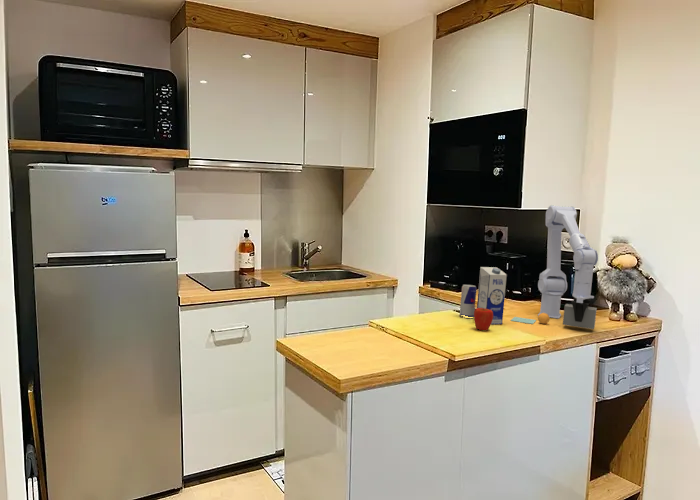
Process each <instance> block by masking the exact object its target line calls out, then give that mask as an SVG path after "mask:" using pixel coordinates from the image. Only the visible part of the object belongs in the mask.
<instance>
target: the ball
mask: <svg viewBox="0 0 700 500" xmlns="http://www.w3.org/2000/svg"><path fill="white" fill-rule="evenodd" d="M538 314H539V313H538ZM537 316H538V315H537ZM537 321H538V322H539V323H540V324H542V325H543V324H545V325H546V324H548V323H549V321H550V317H549V316H548V315H547V314H546V313H541V314H539V316H538V317H537Z"/></svg>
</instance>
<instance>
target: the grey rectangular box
mask: <svg viewBox="0 0 700 500" xmlns="http://www.w3.org/2000/svg"><path fill="white" fill-rule="evenodd" d="M597 309H598V308H597V307H594V306H593V307H592V306H587V308H586V310H585V312H584V316H583V319H582V322H577V321H575V317H574V309H573V305H572V303H565V304H564V309H563V318H562V319H563V320H562V325H563V326H571V327H575V328H583V329H589V330H590V329H591V330H594V329H595V326H596V318H597Z"/></svg>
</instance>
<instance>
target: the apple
mask: <svg viewBox="0 0 700 500" xmlns="http://www.w3.org/2000/svg"><path fill="white" fill-rule="evenodd" d="M492 320H493V311H492V310H489V309H484V308H477V307H476V308H475V311H474V318H473V321H474V326H475V329H476V330H477V329H479V330H478V331H481V330H486V331H489V329H490V327H491V325H492V324H491V323H492Z"/></svg>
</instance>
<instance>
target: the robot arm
mask: <svg viewBox="0 0 700 500" xmlns="http://www.w3.org/2000/svg"><path fill="white" fill-rule="evenodd" d="M576 209H577V208H576V207H574V206H566V205H565V206H563V205H562V206H561V205H552V204H551V205H549V206H548V207H547V209H546V211H545V226H546V228H547V254H546V257H547V258H546V269H545V270H543V271H542V272H540V273H539V277H538V279H539V280H538V281H537V288H538V290H539V292H540V293H541V301H540V311H539V313H538V314H537V316H539V314H541V313H546V314H547V315H548V316H549V318H554V319H560V318H561V316H562V315H561V314H562V313H561V312H560V311H561V309H560V308H561V302H562V301H561V300H562V296H564V294H565V293H566V291H567V290H568V282H567V275H566V274H565V272H564V271H562V270H561V265H562V264H561V259H562V232H563V229H565V230H566V232H567V233H568V235H569V239H568V242H569V245H570V247H571V249H572V251H573V257H572V258H573V263H574V264H573V266H574V267H573V268H574V269H575V272H574V282H573V289H572V290H573V292H572V297H573V300H571V303H570V304H572V305H573V309H574V317H575V321H577V322H582V319H583V316H584V312H585V310H586V308H587V307H589V305H590V304H589V303H590V302H591V299H594V298H595V296H594V295H591V293H592V283H593V274H594V266H596V265H597V263H598V261H599V254H598V251H597V250H596V249H595V248H593V247H591V246H590V244H589V241H588V239H587V237H586V235H585V234H583V233H582V232H580V229H579V227H578V224H577V221H576V220H577V215H578V212H577V210H576Z"/></svg>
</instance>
